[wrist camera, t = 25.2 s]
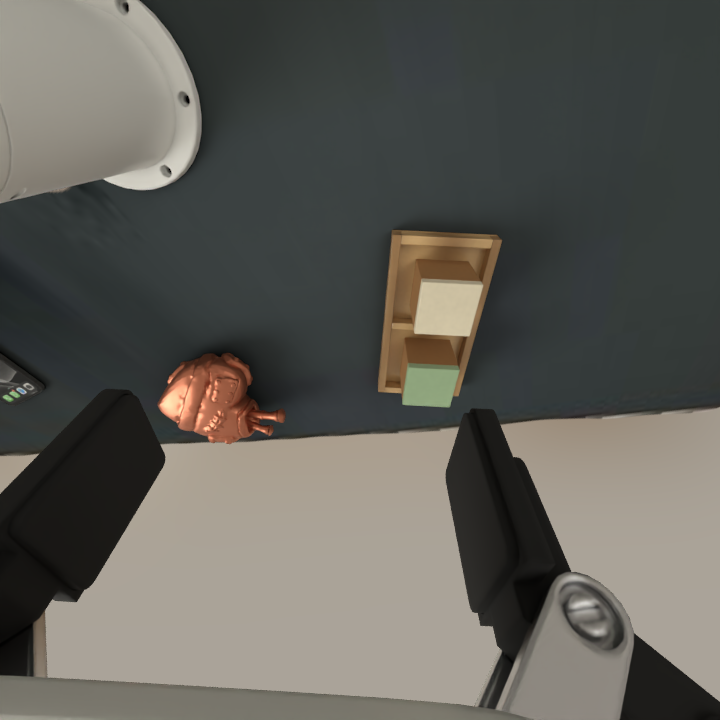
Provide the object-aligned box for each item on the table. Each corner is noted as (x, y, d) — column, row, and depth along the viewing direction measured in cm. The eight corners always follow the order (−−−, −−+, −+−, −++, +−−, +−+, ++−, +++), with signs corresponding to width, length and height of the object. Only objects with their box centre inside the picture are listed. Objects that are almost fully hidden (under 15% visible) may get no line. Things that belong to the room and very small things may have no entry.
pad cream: (409, 306, 35) (414, 334, 30) (415, 258, 32) (422, 281, 28) (457, 308, 35) (469, 337, 30) (468, 261, 32) (483, 285, 27)
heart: (168, 455, 42) (288, 451, 41) (126, 374, 35) (268, 368, 35) (189, 422, 47) (296, 418, 46) (157, 346, 40) (280, 340, 40)
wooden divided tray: (378, 383, 42) (378, 392, 40) (392, 229, 31) (392, 234, 30) (455, 387, 42) (458, 396, 40) (497, 234, 31) (502, 240, 29)
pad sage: (399, 372, 40) (402, 405, 36) (404, 337, 37) (408, 367, 33) (441, 374, 40) (449, 407, 36) (449, 339, 37) (460, 370, 33)
